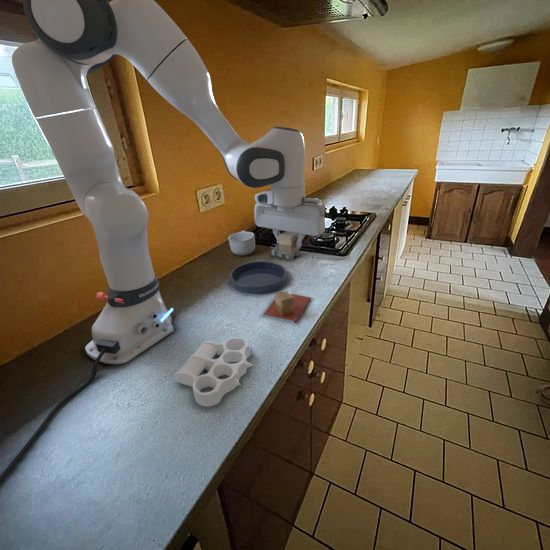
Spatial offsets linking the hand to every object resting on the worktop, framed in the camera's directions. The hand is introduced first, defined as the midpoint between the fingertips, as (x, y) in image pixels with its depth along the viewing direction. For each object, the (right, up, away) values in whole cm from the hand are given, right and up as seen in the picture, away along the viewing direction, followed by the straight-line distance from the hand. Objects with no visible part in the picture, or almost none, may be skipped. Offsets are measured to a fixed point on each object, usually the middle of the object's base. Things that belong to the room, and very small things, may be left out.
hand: (289, 245), depth 85 cm
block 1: (0, -1, +1) cm, 2 cm away
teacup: (-17, +1, +44) cm, 47 cm away
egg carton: (0, -1, +39) cm, 39 cm away
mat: (0, -18, +5) cm, 19 cm away
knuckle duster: (-17, -31, -17) cm, 39 cm away
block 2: (-1, -19, +3) cm, 19 cm away
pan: (-10, -10, +21) cm, 25 cm away
